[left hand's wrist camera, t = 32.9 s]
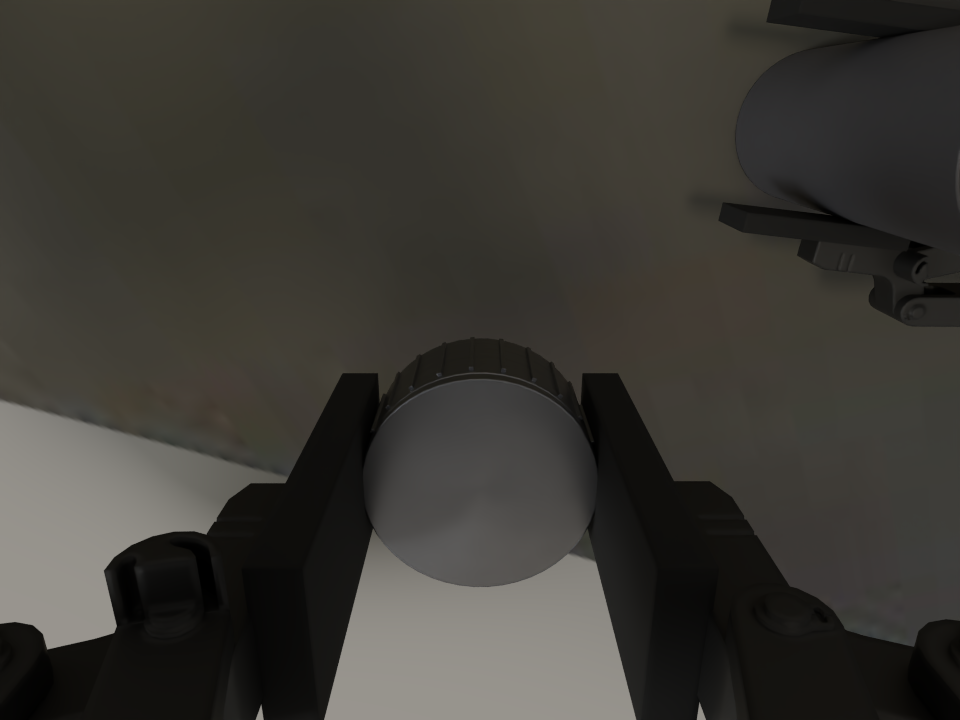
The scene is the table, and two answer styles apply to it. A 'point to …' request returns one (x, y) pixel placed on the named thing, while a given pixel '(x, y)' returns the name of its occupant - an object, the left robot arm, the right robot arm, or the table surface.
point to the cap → (480, 464)
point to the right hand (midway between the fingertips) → (757, 117)
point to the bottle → (863, 134)
